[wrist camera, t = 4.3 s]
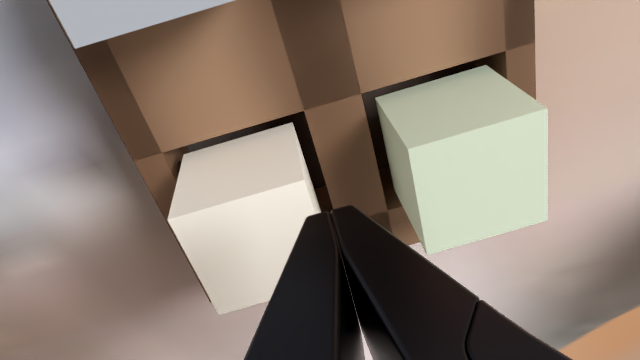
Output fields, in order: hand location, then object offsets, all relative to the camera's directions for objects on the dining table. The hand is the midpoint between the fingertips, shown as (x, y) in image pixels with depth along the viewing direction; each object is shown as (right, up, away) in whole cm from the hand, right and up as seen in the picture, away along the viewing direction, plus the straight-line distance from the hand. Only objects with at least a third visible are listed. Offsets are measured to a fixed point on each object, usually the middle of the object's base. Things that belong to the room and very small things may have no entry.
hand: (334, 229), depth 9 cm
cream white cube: (-3, +1, +9) cm, 10 cm away
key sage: (+4, +3, +9) cm, 10 cm away
